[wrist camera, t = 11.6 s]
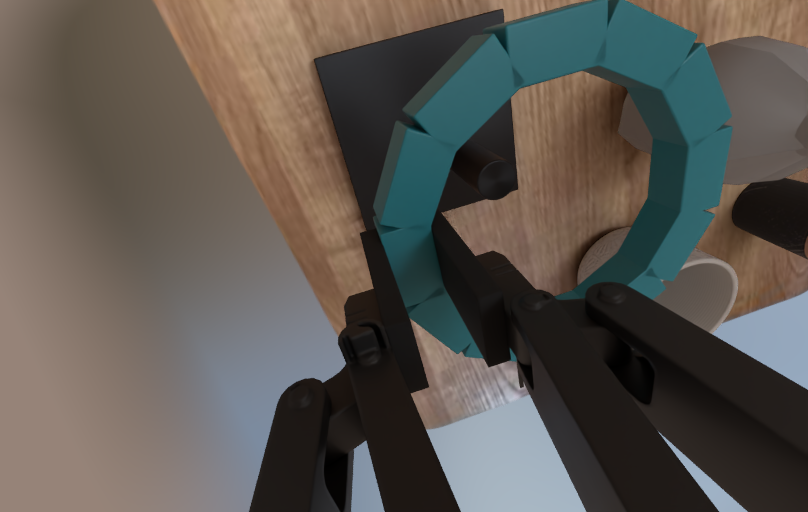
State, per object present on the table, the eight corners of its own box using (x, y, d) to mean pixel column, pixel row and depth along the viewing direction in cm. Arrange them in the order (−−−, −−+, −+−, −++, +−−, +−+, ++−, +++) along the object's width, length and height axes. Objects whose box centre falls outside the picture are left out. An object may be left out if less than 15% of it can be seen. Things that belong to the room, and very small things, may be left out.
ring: (418, 370, 21) (428, 399, 19) (328, 70, 14) (331, 73, 12) (670, 285, 22) (701, 305, 20) (712, -35, 15) (766, -47, 13)
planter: (649, 197, 46) (738, 236, 36) (661, 274, 52) (740, 325, 42) (554, 248, 46) (617, 300, 37) (577, 319, 52) (636, 378, 43)
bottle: (585, 54, 36) (1264, 64, 10) (694, 23, 37) (1582, -42, 11) (585, 169, 42) (1029, 361, 16) (680, 139, 43) (1251, 277, 17)
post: (366, 228, 40) (395, 328, 26) (313, 58, 32) (314, 65, 18) (512, 185, 41) (618, 257, 27) (496, 10, 33) (634, -20, 19)
